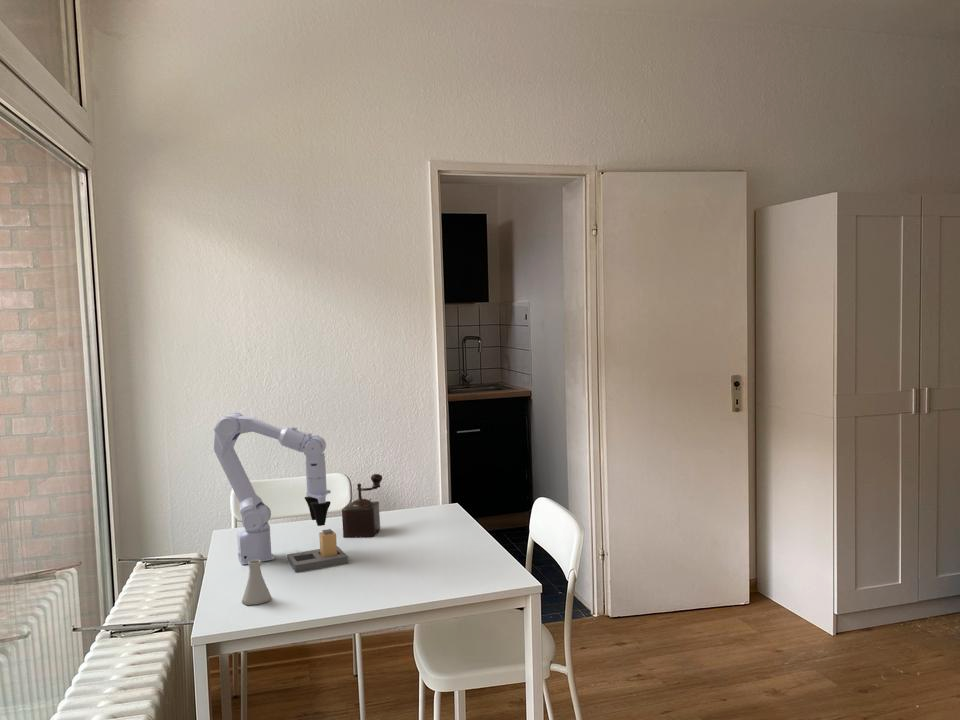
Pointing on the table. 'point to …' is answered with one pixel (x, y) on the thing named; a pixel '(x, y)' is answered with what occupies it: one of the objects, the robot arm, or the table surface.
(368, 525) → the manual coffee grinder
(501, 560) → the table surface
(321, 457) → the robot arm
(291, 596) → the table surface
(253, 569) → the flask
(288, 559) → the socket block
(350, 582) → the table surface
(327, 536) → the plug
